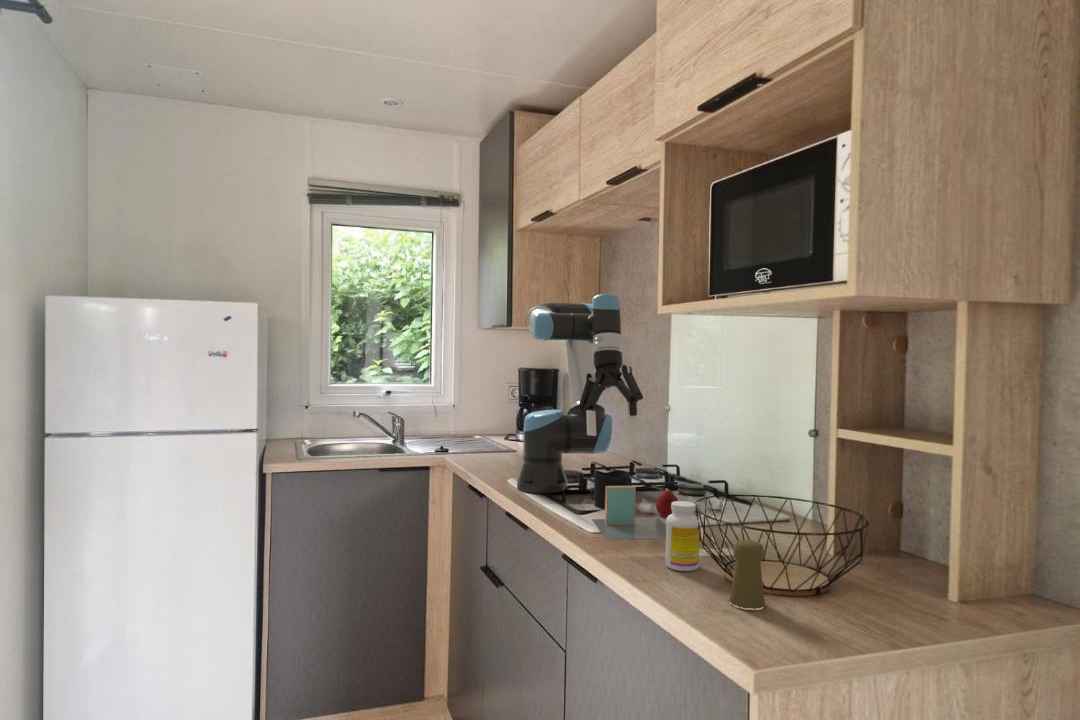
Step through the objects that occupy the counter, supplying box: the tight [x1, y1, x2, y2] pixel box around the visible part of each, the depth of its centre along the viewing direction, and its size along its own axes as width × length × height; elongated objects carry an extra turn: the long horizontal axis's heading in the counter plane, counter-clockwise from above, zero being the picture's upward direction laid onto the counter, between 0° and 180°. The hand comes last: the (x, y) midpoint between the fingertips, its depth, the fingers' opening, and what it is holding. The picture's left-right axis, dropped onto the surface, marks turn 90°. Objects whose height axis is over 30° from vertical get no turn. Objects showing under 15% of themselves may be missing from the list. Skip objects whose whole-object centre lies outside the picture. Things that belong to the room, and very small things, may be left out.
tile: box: [604, 485, 637, 525], centre depth 167 cm, size 2×7×9 cm, turn 97°
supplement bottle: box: [664, 500, 701, 572], centre depth 140 cm, size 7×7×13 cm
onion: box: [655, 488, 679, 518], centre depth 176 cm, size 6×6×8 cm
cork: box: [729, 539, 766, 609], centre depth 121 cm, size 6×6×11 cm
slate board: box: [591, 517, 666, 541], centre depth 164 cm, size 17×17×1 cm
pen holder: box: [593, 469, 631, 510], centre depth 186 cm, size 9×9×10 cm
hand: (610, 432), depth 179 cm, fingers open, 13 cm apart
